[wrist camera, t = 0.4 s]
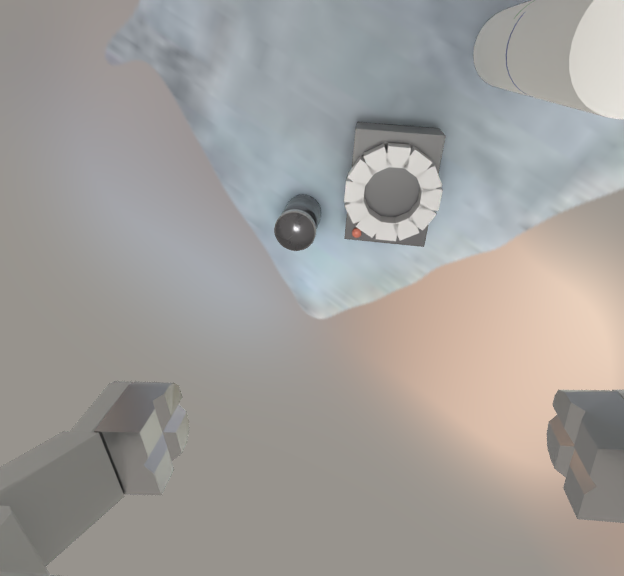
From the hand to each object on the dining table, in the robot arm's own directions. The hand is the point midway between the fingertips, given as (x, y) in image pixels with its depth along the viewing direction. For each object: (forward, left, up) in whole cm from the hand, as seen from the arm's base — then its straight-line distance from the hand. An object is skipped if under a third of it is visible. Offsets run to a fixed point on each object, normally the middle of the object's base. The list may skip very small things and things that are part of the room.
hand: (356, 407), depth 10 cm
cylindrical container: (-8, +13, -45) cm, 48 cm away
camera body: (+6, +3, -45) cm, 45 cm away
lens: (+11, -7, -45) cm, 47 cm away
